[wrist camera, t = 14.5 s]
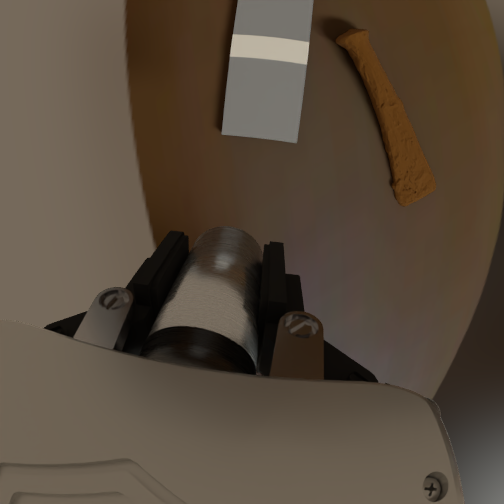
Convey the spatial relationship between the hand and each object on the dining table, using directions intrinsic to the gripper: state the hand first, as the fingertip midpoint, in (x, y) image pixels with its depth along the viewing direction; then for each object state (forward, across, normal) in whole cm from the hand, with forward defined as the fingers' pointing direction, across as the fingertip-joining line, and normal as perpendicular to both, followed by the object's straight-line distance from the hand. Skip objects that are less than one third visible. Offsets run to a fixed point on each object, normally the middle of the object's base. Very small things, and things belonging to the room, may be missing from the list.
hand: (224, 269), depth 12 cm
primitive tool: (+18, -14, -8) cm, 24 cm away
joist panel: (+18, 0, -13) cm, 22 cm away
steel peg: (+1, 0, 0) cm, 1 cm away
